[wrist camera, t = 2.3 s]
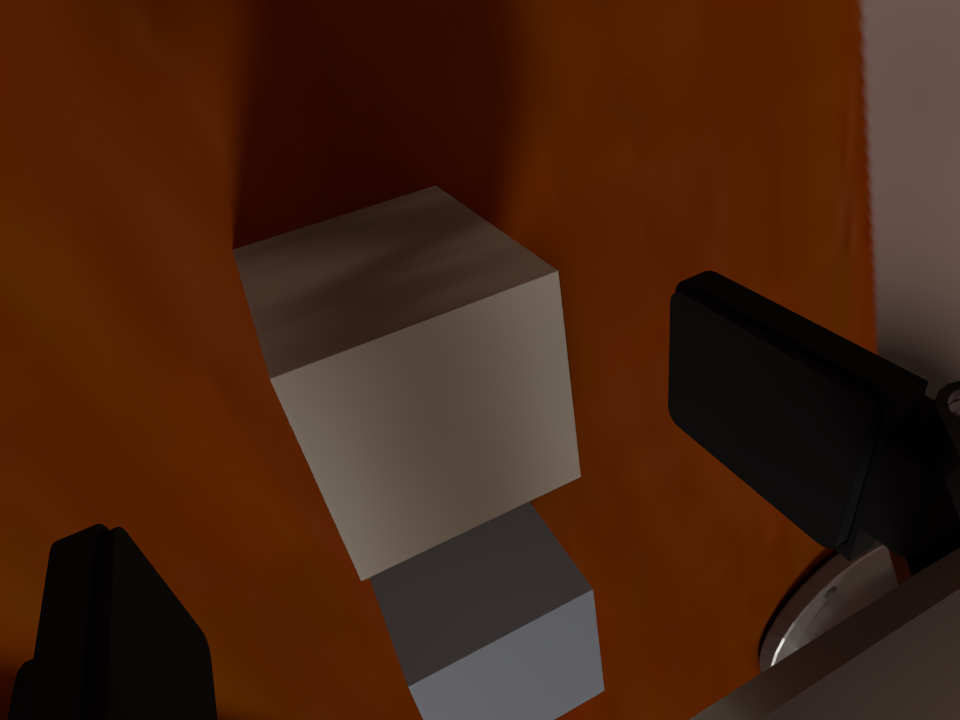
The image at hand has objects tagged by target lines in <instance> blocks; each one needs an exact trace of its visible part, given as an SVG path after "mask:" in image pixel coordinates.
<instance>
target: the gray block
mask: <svg viewBox="0 0 960 720" xmlns="http://www.w3.org/2000/svg"><path fill="white" fill-rule="evenodd" d="M369 578H370V581H371V583H372V586H373V589H374V592H375V595H376V597H377V600H378V603H379V606H380V609H381V611H382V614H383V617H384V620H385V623H386V625H387V628H388V631H389V634H390V637H391V639H392V642H393V645H394V648H395V651H396V654H397V656H398V659H399V662H400V665H401V668H402V670H403V673H404V676H405V679H406V682H407V684H408V687H409V689H410V692H411V694H412V696H413V698H414V700H415V702H416V705H417V707H418V709H419V711H420V713H421V716H422V718H423V720H554V719H556V718H558V717H560V716H561V715H563V714H565V713H566V712H568V711H570V710H572V709H573V708H575V707H577V706H579V705H580V704H582V703H584V702H585V701H587V700H589V699H591V698H592V697H594V696H596V695H598V694H599V693H601V692H603V691H604V684H603V675H602V666H601V657H600V648H599V639H598V630H597V622H596V613H595V604H594V595H593V589H592V587H591V586H590V585H589V583H588V582H587V581H586V579H585V578H584V576H583V575H582V574H581V572H580V571H579V569H578V568H577V567H576V565H575V564H574V563H573V561H572V560H571V558H570V557H569V556H568V554H567V553H566V551H565V550H564V549H563V547H562V546H561V545H560V543H559V542H558V540H557V539H556V538H555V536H554V535H553V534H552V532H551V531H550V529H549V528H548V527H547V525H546V524H545V522H544V521H543V520H542V518H541V517H540V516H539V514H538V513H537V511H536V510H535V509H534V507H533V506H532V504H531V503H530V502H527V503H525V504H523V505H521V506H518V507H516V508H514V509H512V510H510V511H508V512H506V513H504V514H502V515H500V516H497V517H495V518H493V519H491V520H489V521H487V522H485V523H483V524H481V525H479V526H476V527H474V528H472V529H470V530H468V531H466V532H464V533H462V534H460V535H458V536H455V537H453V538H451V539H449V540H447V541H445V542H443V543H441V544H439V545H437V546H434V547H432V548H430V549H428V550H426V551H424V552H422V553H420V554H418V555H415V556H413V557H411V558H409V559H407V560H405V561H403V562H401V563H399V564H397V565H394V566H392V567H390V568H388V569H386V570H384V571H382V572H380V573H378V574H376V575H373V576H371V577H369Z"/></svg>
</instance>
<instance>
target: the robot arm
mask: <svg viewBox="0 0 960 720" xmlns="http://www.w3.org/2000/svg"><path fill="white" fill-rule="evenodd" d="M927 384H928V381H927V380H925V379H923V378H921V377H919V376H917V375H915V374H913V373H911V372H909V371H907V370H905V369H903V368H901V367H899V366H897V365H895V364H894V363H892V362H890V361H888V360H886V359H884V358H882V357H880V356H878V355H876V354H874V353H872V352H870V351H868V350H866V349H864V348H862V347H860V346H859V345H857V344H855V343H853V342H851V341H849V340H847V339H845V338H843V337H841V336H839V335H837V334H835V333H833V332H831V331H829V330H827V329H825V328H823V327H822V326H820V325H818V324H816V323H814V322H812V321H810V320H808V319H806V318H804V317H802V316H800V315H798V314H796V313H794V312H792V311H790V310H788V309H787V308H785V307H783V306H781V305H779V304H777V303H775V302H773V301H771V300H769V299H767V298H765V297H763V296H761V295H759V294H757V293H755V292H753V291H752V290H750V289H748V288H746V287H744V286H742V285H740V284H738V283H736V282H734V281H732V280H730V279H728V278H726V277H724V276H722V275H720V274H718V273H716V272H714V271H705V272H703V273H700V274H698V275H695V276H693V277H691V278H688V279H686V280H683V281H681V282H680V283H679V284H678V285H677V287H676V291H675V293H674V294H673V295H672V297H671V301H670V345H669V394H668V409H669V413H670V416H671V418H672V420H673V421H674V422H675V424H676V425H677V426H678V427H679V428H681V429H682V430H683V431H684V432H685V433H687V434H688V435H689V436H690V437H691V438H693V439H694V440H695V441H696V442H697V443H699V444H700V445H701V446H702V447H703V448H705V449H706V450H707V451H708V452H709V453H711V454H712V455H713V456H714V457H715V458H717V459H718V460H719V461H720V462H721V463H723V464H724V465H725V466H726V467H727V468H729V469H730V470H731V471H732V472H733V473H734V474H736V475H737V476H738V477H739V478H740V479H742V480H743V481H744V482H745V483H746V484H748V485H749V486H750V487H751V488H752V489H754V490H755V491H756V492H757V493H758V494H760V495H761V496H762V497H763V498H764V499H766V500H767V501H768V502H769V503H770V504H772V505H773V506H774V507H775V508H776V509H778V510H779V511H780V512H781V513H782V514H784V515H785V516H786V517H787V518H788V519H790V520H791V521H792V522H793V523H794V524H796V525H797V526H798V527H799V528H800V529H802V530H803V531H804V532H805V533H806V534H807V535H809V536H810V537H811V538H812V539H813V540H815V541H816V542H817V543H819V544H820V545H821V546H824V547H826V548H834V549H835V550H836V551H837V552H839V553H838V554H836V555H835V556H833V557H832V558H831V559H830V560H829V561H827V562H826V563H825V564H824V565H823V566H821V567H820V568H819V569H818V570H817V571H816V572H815V573H814V574H813V575H812V576H811V577H810V578H809V579H808V580H807V581H805V582H804V583H803V584H802V585H801V586H800V588H799V589H798V590H797V591H796V592H795V593H794V595H793V596H792V597H791V598H790V599H789V600H788V602H787V603H786V604H785V606H784V607H783V608H782V610H781V611H780V613H779V614H778V615H777V617H776V618H775V620H774V622H773V624H772V625H771V627H770V629H769V630H768V632H767V635H766V637H765V639H764V642H763V644H762V648H761V652H760V657H759V660H760V669H761V671H762V673H761V674H759V675H758V676H756V677H754V678H753V679H751V680H750V681H748V682H747V683H745V684H744V685H742V686H741V687H739V688H737V689H736V690H734V691H733V692H731V693H730V694H728V695H727V696H725V697H723V698H722V699H720V700H719V701H717V702H716V703H714V704H713V705H711V706H710V707H708V708H706V709H705V710H703V711H702V712H700V713H699V714H697V715H696V716H694V717H692V718H691V719H689V720H960V381H956V382H953V383H949V384H947V385H946V386H945V387H943V388H941V389H940V390H939V392H938V394H937V396H936V398H935V400H933V399H931V398H929V397H927V396H925V395H924V393H925V390H926V387H927ZM8 720H217V711H216V701H215V692H214V683H213V673H212V664H211V655H210V649H209V646H208V643H207V640H206V637H205V635H204V633H203V632H202V630H201V629H200V627H199V626H198V625H197V623H196V622H195V621H194V620H193V618H192V617H191V616H190V614H189V613H188V612H187V610H186V609H185V608H184V607H183V605H182V604H181V603H180V601H179V600H178V599H177V597H176V596H175V595H174V593H173V592H172V591H171V590H170V588H169V587H168V586H167V584H166V583H165V582H164V580H163V579H162V578H161V577H160V575H159V574H158V573H157V571H156V570H155V569H154V567H153V566H152V565H151V563H150V562H149V561H148V560H147V558H146V557H145V556H144V554H143V553H142V552H141V550H140V549H139V548H138V547H137V545H136V544H135V543H134V541H133V540H132V539H131V537H130V536H129V535H128V533H127V532H126V531H125V530H124V529H123V528H121V527H116V528H114V529H112V530H109V529H108V528H107V527H106V526H104V525H102V524H96V525H94V526H91V527H89V528H87V529H84V530H82V531H79V532H77V533H75V534H72V535H70V536H67V537H65V538H63V539H60V540H58V541H55V542H54V543H53V544H52V546H51V549H50V554H49V561H48V567H47V574H46V580H45V587H44V593H43V600H42V607H41V613H40V620H39V626H38V633H37V639H36V646H35V652H34V659H31V660H29V661H27V662H25V663H24V664H23V665H22V667H21V668H20V669H19V671H18V673H17V676H16V679H15V683H14V687H13V693H12V699H11V704H10V710H9V716H8Z"/></svg>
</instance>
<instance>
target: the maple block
mask: <svg viewBox="0 0 960 720" xmlns="http://www.w3.org/2000/svg"><path fill="white" fill-rule="evenodd" d="M233 253H234V256H235V260H236V263H237V267H238V270H239V274H240V277H241V281H242V284H243V288H244V291H245V294H246V298H247V301H248V305H249V308H250V312H251V315H252V319H253V322H254V326H255V329H256V333H257V336H258V339H259V343H260V346H261V350H262V353H263V357H264V360H265V364H266V367H267V371H268V374H269V378H270V380H271V383H272V385H273V387H274V389H275V391H276V394H277V396H278V398H279V400H280V402H281V405H282V407H283V409H284V411H285V413H286V416H287V418H288V420H289V422H290V424H291V427H292V429H293V431H294V433H295V436H296V438H297V440H298V442H299V444H300V447H301V449H302V451H303V453H304V455H305V458H306V460H307V462H308V464H309V466H310V469H311V471H312V473H313V475H314V478H315V480H316V482H317V484H318V486H319V489H320V491H321V493H322V495H323V497H324V500H325V502H326V504H327V506H328V508H329V511H330V513H331V515H332V517H333V520H334V522H335V524H336V526H337V528H338V531H339V533H340V535H341V537H342V539H343V542H344V544H345V546H346V548H347V550H348V553H349V555H350V557H351V559H352V562H353V564H354V566H355V568H356V570H357V573H358V575H359V577H360V579H361V581H363V580H365V579H367V578H369V577H371V576H373V575H376V574H378V573H380V572H382V571H384V570H386V569H388V568H390V567H392V566H394V565H397V564H399V563H401V562H403V561H405V560H407V559H409V558H411V557H413V556H415V555H418V554H420V553H422V552H424V551H426V550H428V549H430V548H432V547H434V546H437V545H439V544H441V543H443V542H445V541H447V540H449V539H451V538H453V537H455V536H458V535H460V534H462V533H464V532H466V531H468V530H470V529H472V528H474V527H476V526H479V525H481V524H483V523H485V522H487V521H489V520H491V519H493V518H495V517H497V516H500V515H502V514H504V513H506V512H508V511H510V510H512V509H514V508H516V507H518V506H521V505H523V504H525V503H527V502H529V501H531V500H533V499H535V498H537V497H539V496H542V495H544V494H546V493H548V492H550V491H552V490H554V489H556V488H558V487H560V486H563V485H565V484H567V483H569V482H571V481H573V480H575V479H577V478H579V477H581V475H580V466H579V457H578V448H577V439H576V429H575V420H574V411H573V402H572V393H571V384H570V374H569V365H568V356H567V347H566V338H565V329H564V319H563V310H562V301H561V292H560V283H559V274H558V270H556V269H555V268H553V267H552V266H551V265H549V264H548V263H546V262H545V261H543V260H542V259H541V258H539V257H538V256H536V255H535V254H533V253H532V252H531V251H529V250H528V249H526V248H525V247H523V246H522V245H521V244H519V243H518V242H516V241H515V240H513V239H512V238H510V237H509V236H508V235H506V234H505V233H503V232H502V231H500V230H499V229H498V228H496V227H495V226H493V225H492V224H490V223H489V222H488V221H486V220H485V219H483V218H482V217H480V216H479V215H477V214H476V213H475V212H473V211H472V210H470V209H469V208H467V207H466V206H465V205H463V204H462V203H460V202H459V201H457V200H456V199H455V198H453V197H452V196H450V195H449V194H447V193H446V192H445V191H443V190H442V189H440V188H439V187H437V186H436V185H435V186H432V187H429V188H426V189H423V190H420V191H416V192H413V193H410V194H407V195H404V196H401V197H397V198H394V199H391V200H388V201H385V202H382V203H379V204H375V205H372V206H369V207H366V208H363V209H360V210H356V211H353V212H350V213H347V214H344V215H341V216H338V217H334V218H331V219H328V220H325V221H322V222H319V223H315V224H312V225H309V226H306V227H303V228H300V229H297V230H293V231H290V232H287V233H284V234H281V235H278V236H274V237H271V238H268V239H265V240H262V241H259V242H255V243H252V244H249V245H246V246H243V247H240V248H237V249H233Z"/></svg>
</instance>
